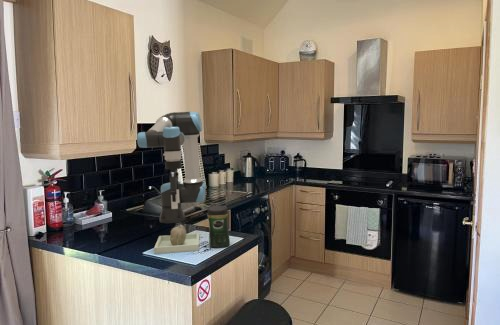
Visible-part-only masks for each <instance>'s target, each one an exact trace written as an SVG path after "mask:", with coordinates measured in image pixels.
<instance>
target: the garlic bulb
mask: <svg viewBox="0 0 500 325" xmlns="http://www.w3.org/2000/svg"><path fill="white" fill-rule="evenodd" d="M186 234H187V229H186V227H185V226H184V225H182V224H179V226H175V227H173V228H171V230H170V235H171V236H170V241H171V244H172V245H173V246H176V245H182V244H183V243H184V241H185V238H186Z"/></svg>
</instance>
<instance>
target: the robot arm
mask: <svg viewBox="0 0 500 325" xmlns="http://www.w3.org/2000/svg"><path fill="white" fill-rule="evenodd" d="M201 118H202V117H201V115H200V113H199V112H197V111H181V112H180V111H178V112H176V111H175V112H170V113H166V114H163V115H161V116H160V117H158V118H157V119H156V121H155V122H154V123H155V124H154V125H152V127H151V128H149V129H148V130H147V131H141V132H138V133H137V135H136V142H137V145H138V147H139V148H143V149H144V148H145V149H147V148H163V151H164V153H163V154H162V155H163V157H164V160H165V161H164V166H165V167H164V169H165V170H168V171H169V170H170V172H169V174H168V175H169V182H167V183H162V185H161V186H160V201H161V202H160V203H161V210H160V211H161V212H160V215H159V218H158V219H159V223H160V224H177V223H182V222H184V221H185V220H186V215H185V213H184V210H183V207H182V204H188V203H189V204H191V203H194V204H195V203H196V204H197V203H202V202H204V201H205V197H206V191H207V190H206V187H207V186H206V182H204V180H203V178H201V173H200V172H201V171H200V159H199V158H200V157H199V144H198V143H199V142H198V140H199V139H198V138H199V136H200V135H201V134H200V133H201V132H202V131H203V123H202V119H201ZM181 146H182V148H181ZM181 149H183V159H184V160H183V161H184V174H185V177H184V180H182V182H183V183H181V181H180V180H179V172H178V170H180V169H182V167H183V166H182V165H183V164H182V150H181Z"/></svg>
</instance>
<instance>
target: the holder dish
mask: <svg viewBox="0 0 500 325" xmlns="http://www.w3.org/2000/svg"><path fill="white" fill-rule="evenodd" d="M170 236H171V234H170V235H169V234H168V235H159V236H158V238H157V241H156V243H155V245H154V247H153V249H154V250H153V251H154V255H159V254H160V255H161V254H174V253H186V252H198V251H200V232H198V233H196V232H195V233H186V238H185V241H184V243H183V244H182V245H176V246H173V245H172V244H171V241H170Z"/></svg>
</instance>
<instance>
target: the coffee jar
mask: <svg viewBox="0 0 500 325" xmlns="http://www.w3.org/2000/svg"><path fill="white" fill-rule="evenodd" d="M206 216H207V219H208V223H209V224H208V225H209V227H208V229H209V230H208V233H209V234H208V245H209V247H211V248H224V247H228V246H230V245H231V244H230V243H231V242H230V234H229V227H228V217H229V210H228V207H227V205H213V206H212V205H211V206H210V205H209V206H208V207H207V214H206Z"/></svg>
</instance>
